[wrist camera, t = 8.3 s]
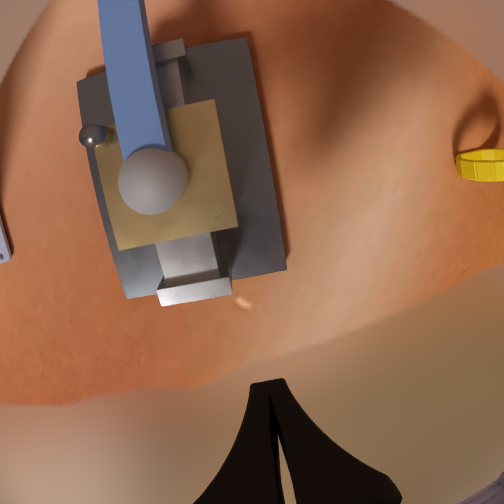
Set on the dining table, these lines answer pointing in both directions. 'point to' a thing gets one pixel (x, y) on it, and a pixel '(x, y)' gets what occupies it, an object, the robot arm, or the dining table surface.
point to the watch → (481, 164)
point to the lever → (139, 110)
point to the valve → (192, 178)
